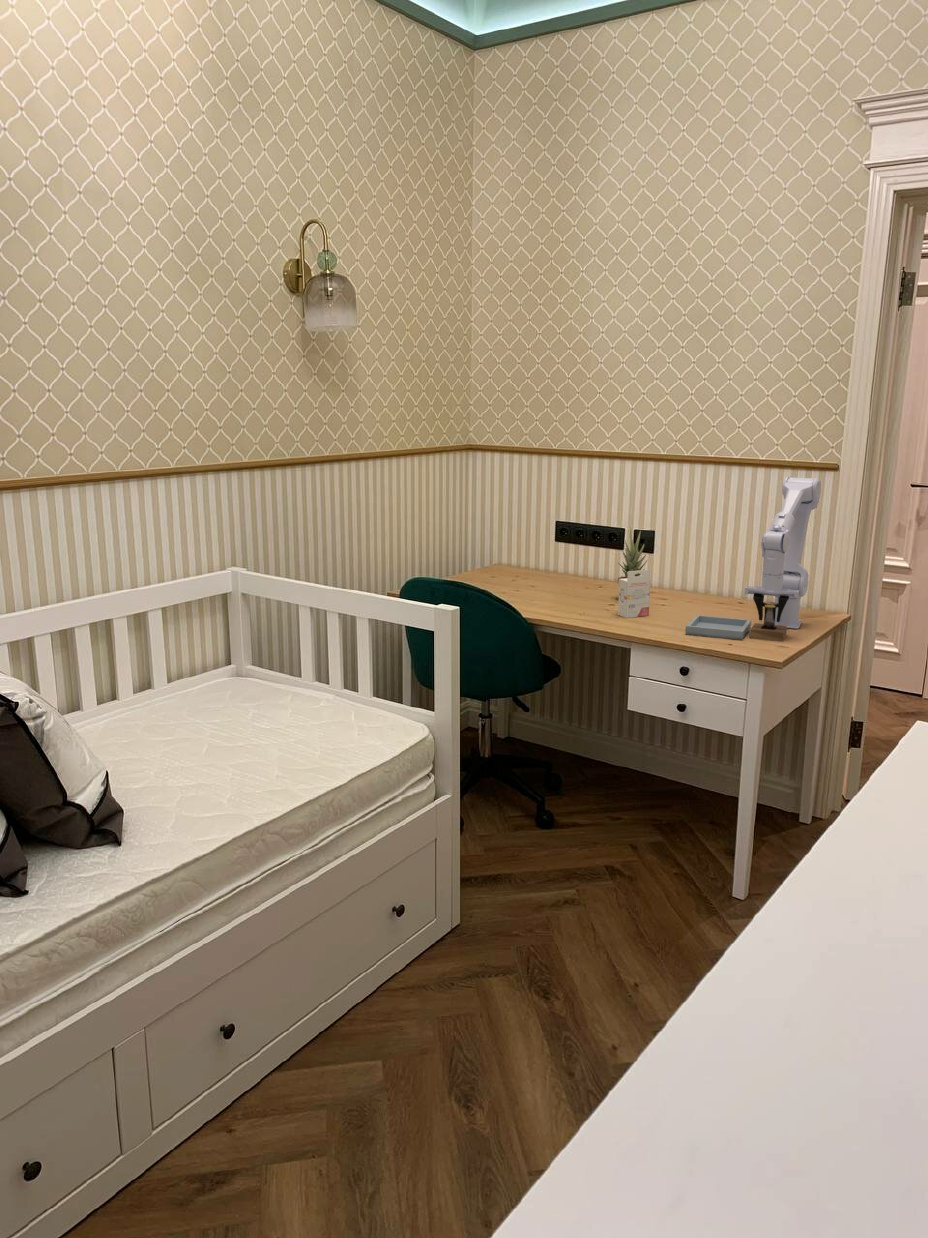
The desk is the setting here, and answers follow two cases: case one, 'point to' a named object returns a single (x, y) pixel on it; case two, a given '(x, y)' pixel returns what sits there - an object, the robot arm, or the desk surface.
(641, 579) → the ink cartridge box
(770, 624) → the lock pin
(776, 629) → the brown square socket base
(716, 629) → the tray
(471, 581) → the desk surface
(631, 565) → the potted plant
